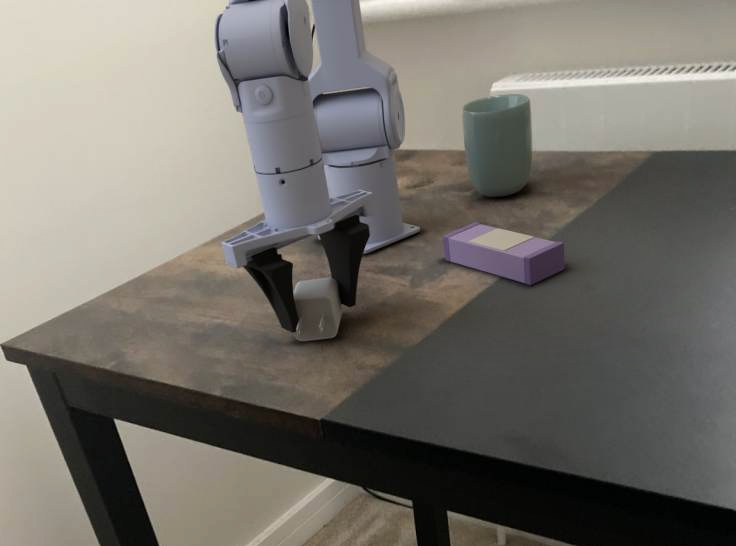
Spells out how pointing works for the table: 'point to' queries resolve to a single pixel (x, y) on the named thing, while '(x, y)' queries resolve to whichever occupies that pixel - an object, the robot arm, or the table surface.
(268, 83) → the robot arm
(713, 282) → the table surface
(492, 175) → the cup
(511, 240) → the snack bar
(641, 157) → the table surface
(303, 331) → the usb wall charger
